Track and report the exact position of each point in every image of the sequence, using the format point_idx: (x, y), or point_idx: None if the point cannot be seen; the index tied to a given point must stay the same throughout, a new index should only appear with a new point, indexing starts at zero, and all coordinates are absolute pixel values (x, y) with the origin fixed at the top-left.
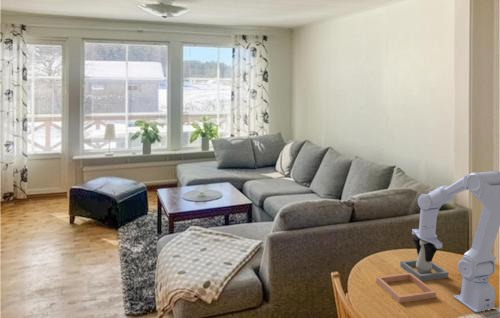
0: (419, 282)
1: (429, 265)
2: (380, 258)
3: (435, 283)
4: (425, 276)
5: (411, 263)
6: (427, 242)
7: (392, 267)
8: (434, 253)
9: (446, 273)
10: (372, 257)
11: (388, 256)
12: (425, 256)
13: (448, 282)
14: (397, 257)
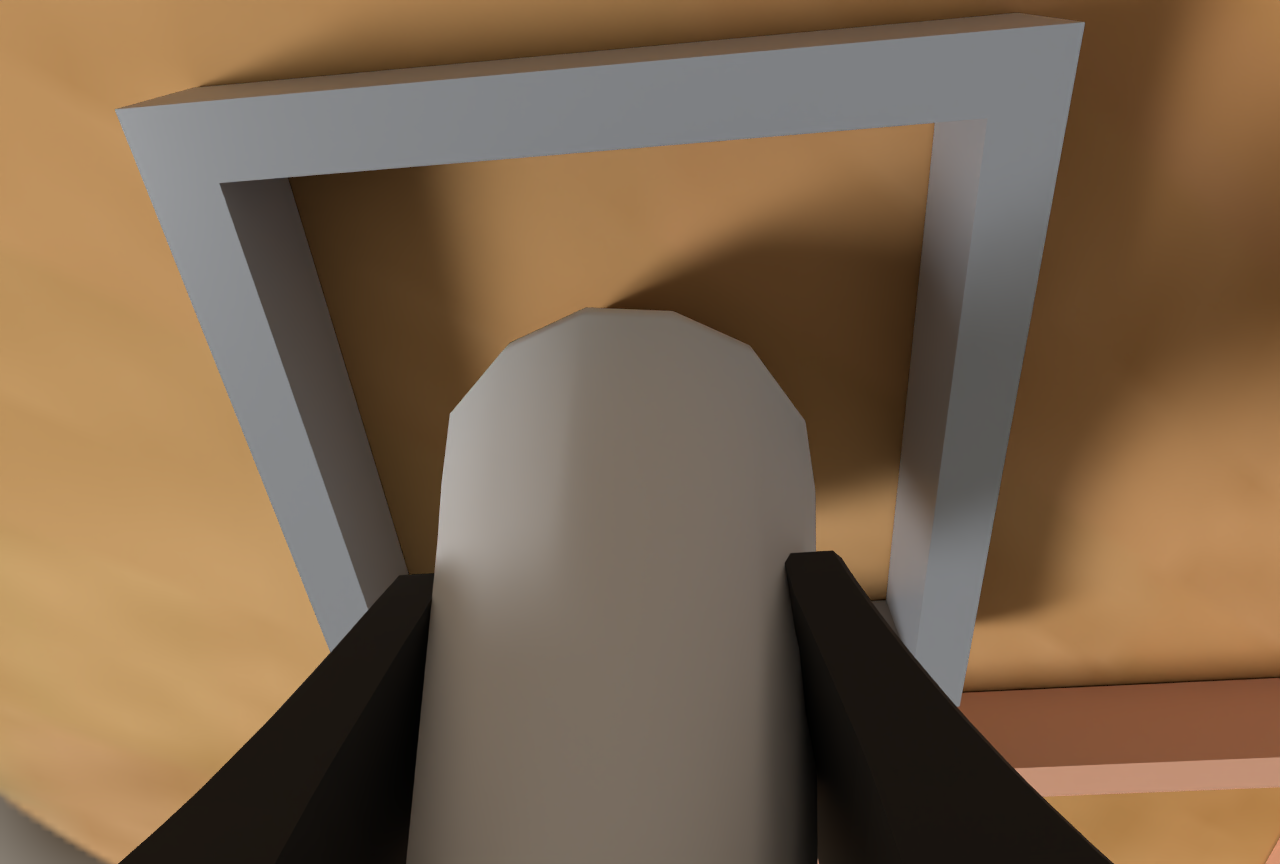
0: (1108, 783)
1: (812, 517)
2: (120, 779)
3: (1099, 451)
4: (967, 608)
5: (368, 542)
6: None
7: None
8: (1028, 799)
9: (1060, 97)
10: (106, 844)
11: (3, 662)
12: (822, 841)
13: (1199, 172)
14: (6, 552)
